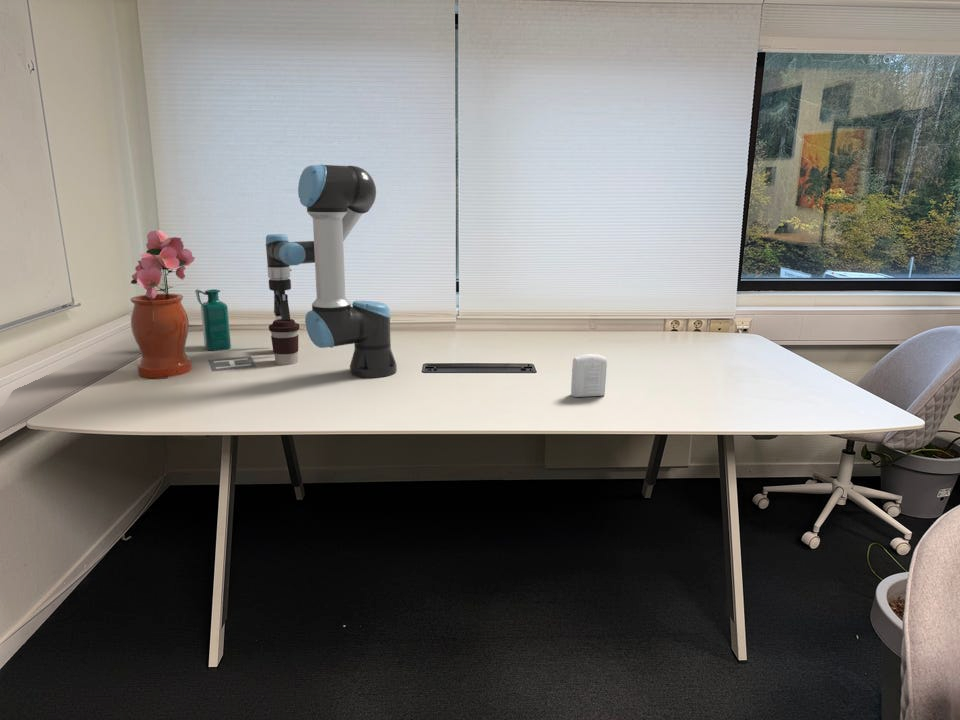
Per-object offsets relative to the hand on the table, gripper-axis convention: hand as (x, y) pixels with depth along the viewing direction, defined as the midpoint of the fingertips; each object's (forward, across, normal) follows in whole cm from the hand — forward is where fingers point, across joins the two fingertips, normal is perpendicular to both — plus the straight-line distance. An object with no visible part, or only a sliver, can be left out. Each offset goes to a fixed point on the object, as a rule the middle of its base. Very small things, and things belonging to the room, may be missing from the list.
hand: (283, 337), depth 240 cm
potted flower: (+6, -11, +38) cm, 40 cm away
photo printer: (+6, -88, -72) cm, 114 cm away
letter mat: (+6, -10, +19) cm, 22 cm away
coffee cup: (+6, -16, +2) cm, 17 cm away
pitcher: (+6, +17, +22) cm, 28 cm away
